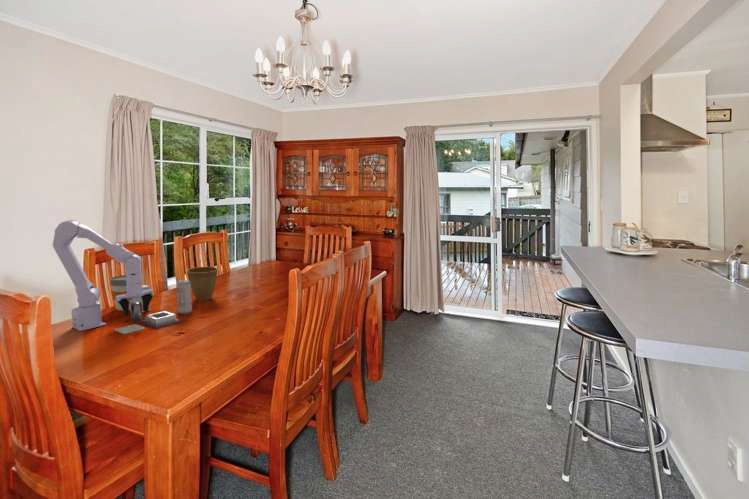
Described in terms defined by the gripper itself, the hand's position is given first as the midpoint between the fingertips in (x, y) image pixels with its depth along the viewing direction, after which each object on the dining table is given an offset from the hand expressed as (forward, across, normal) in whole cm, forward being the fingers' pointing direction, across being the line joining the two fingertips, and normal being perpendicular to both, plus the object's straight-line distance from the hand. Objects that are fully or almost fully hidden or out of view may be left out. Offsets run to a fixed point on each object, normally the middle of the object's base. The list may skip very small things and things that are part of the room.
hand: (136, 313), depth 167 cm
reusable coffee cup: (+3, +7, +23) cm, 24 cm away
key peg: (+3, 0, 0) cm, 3 cm away
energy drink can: (+3, +19, -5) cm, 20 cm away
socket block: (+3, +5, -10) cm, 12 cm away
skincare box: (+3, +8, +12) cm, 15 cm away
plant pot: (+3, +38, +9) cm, 39 cm away
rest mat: (+3, -7, -9) cm, 12 cm away
